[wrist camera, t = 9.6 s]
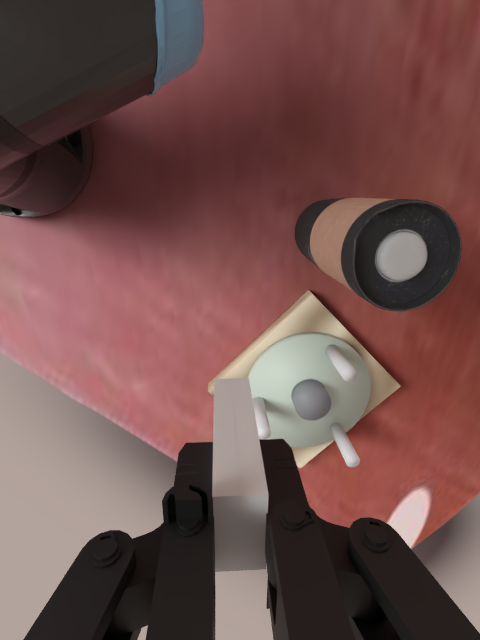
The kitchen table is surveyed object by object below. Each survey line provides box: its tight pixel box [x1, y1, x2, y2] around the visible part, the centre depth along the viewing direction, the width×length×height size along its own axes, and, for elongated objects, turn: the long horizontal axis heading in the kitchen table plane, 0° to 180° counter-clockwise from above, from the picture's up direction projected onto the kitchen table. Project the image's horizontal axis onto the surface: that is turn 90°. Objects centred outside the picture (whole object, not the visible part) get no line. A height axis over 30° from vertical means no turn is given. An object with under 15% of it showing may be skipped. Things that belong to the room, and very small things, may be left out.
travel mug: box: [295, 198, 462, 311], centre depth 34 cm, size 8×8×20 cm
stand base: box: [208, 290, 401, 468], centre depth 48 cm, size 18×18×3 cm
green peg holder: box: [247, 332, 371, 467], centre depth 43 cm, size 16×16×8 cm
